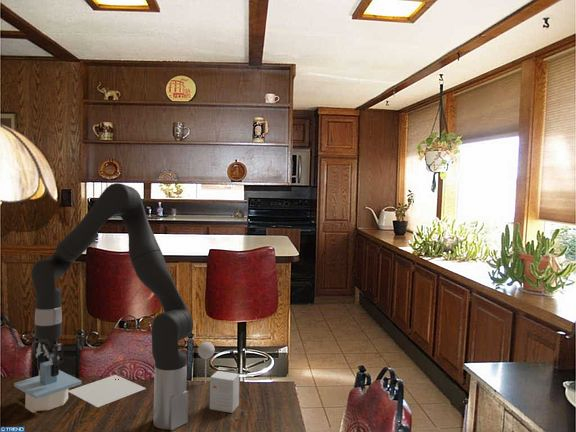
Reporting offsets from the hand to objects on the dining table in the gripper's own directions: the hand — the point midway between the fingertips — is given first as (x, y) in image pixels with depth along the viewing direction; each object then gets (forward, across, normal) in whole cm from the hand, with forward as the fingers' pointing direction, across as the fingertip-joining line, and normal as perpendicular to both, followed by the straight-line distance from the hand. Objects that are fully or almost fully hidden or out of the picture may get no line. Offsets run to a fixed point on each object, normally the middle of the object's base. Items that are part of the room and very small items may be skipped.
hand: (47, 372), depth 141 cm
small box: (+10, -44, -34) cm, 57 cm away
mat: (+10, -6, -17) cm, 21 cm away
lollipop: (+10, -26, -43) cm, 51 cm away
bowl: (+10, 0, 0) cm, 10 cm away
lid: (+4, 0, 0) cm, 4 cm away
